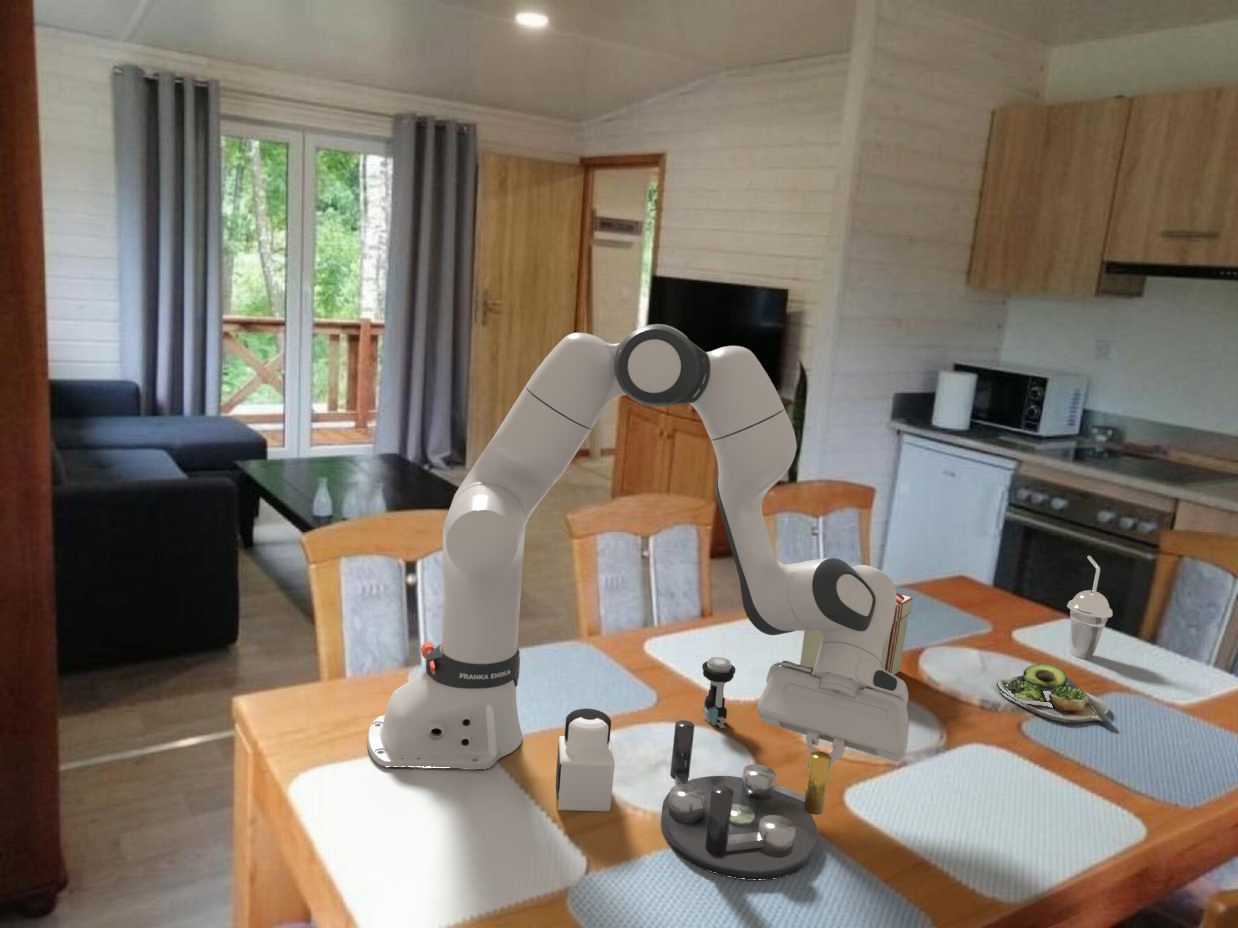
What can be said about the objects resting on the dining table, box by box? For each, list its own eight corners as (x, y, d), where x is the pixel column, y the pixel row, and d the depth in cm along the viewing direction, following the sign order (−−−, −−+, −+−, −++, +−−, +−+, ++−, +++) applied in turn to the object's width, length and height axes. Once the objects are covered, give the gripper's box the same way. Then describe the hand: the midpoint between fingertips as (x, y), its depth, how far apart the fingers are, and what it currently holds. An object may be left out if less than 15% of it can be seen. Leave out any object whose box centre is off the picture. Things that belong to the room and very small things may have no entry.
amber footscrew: (735, 792, 126) (742, 736, 124) (749, 778, 130) (756, 724, 128) (816, 824, 120) (824, 766, 118) (828, 809, 124) (836, 753, 122)
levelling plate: (694, 889, 109) (696, 869, 108) (640, 795, 127) (642, 778, 127) (844, 869, 115) (847, 851, 114) (772, 782, 133) (774, 766, 133)
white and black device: (555, 781, 129) (561, 701, 126) (606, 783, 130) (613, 703, 127) (556, 811, 122) (562, 727, 120) (610, 812, 123) (617, 729, 120)
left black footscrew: (704, 823, 118) (710, 764, 116) (669, 821, 118) (676, 762, 116) (694, 775, 129) (699, 721, 128) (662, 773, 129) (668, 719, 127)
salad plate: (1140, 725, 163) (1146, 701, 162) (1067, 738, 156) (1072, 713, 155) (1051, 678, 180) (1056, 656, 179) (981, 688, 173) (986, 665, 172)
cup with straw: (1056, 654, 192) (1073, 562, 188) (1061, 642, 200) (1078, 553, 196) (1101, 666, 188) (1120, 572, 184) (1105, 653, 195) (1123, 562, 191)
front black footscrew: (782, 833, 117) (790, 774, 116) (799, 854, 113) (807, 793, 112) (698, 842, 114) (705, 782, 112) (712, 864, 110) (719, 802, 108)
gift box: (907, 664, 180) (920, 580, 177) (878, 696, 165) (892, 605, 162) (823, 640, 189) (834, 559, 186) (789, 668, 174) (800, 581, 170)
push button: (737, 729, 148) (744, 671, 146) (706, 731, 147) (713, 672, 145) (722, 710, 155) (728, 654, 153) (692, 711, 153) (698, 655, 151)
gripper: (770, 648, 132) (739, 739, 125) (918, 686, 123) (893, 786, 117) (776, 666, 137) (747, 755, 130) (919, 704, 128) (895, 801, 121)
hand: (817, 770), depth 123 cm, fingers closed, pressing on amber footscrew
